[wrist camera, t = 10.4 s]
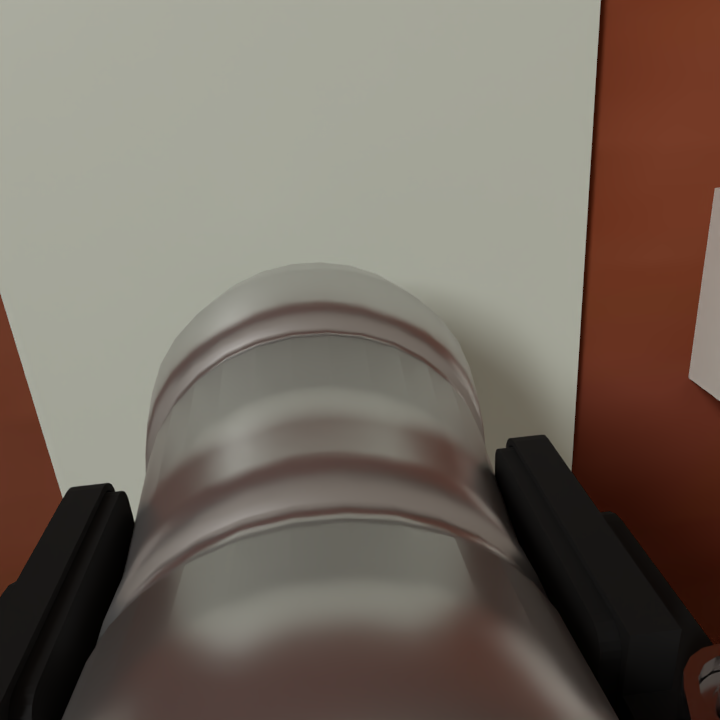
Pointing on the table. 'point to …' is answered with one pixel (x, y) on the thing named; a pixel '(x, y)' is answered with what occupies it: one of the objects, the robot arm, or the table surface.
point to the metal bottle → (326, 528)
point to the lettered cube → (709, 313)
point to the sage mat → (289, 189)
